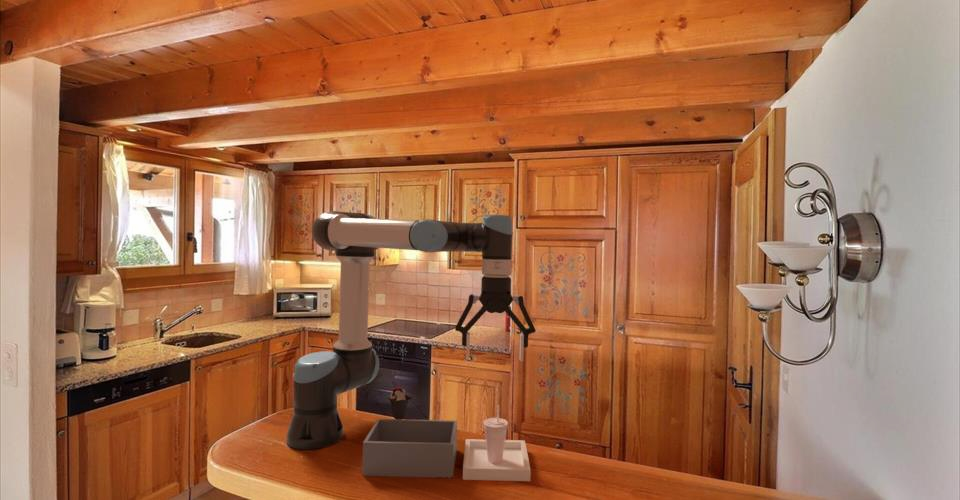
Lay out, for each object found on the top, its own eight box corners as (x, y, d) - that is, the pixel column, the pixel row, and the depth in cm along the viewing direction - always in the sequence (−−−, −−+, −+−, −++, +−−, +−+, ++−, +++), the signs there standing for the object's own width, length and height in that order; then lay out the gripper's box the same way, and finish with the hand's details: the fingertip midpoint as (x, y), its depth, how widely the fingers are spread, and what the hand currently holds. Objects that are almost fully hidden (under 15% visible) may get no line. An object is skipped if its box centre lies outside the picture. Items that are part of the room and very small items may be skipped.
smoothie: (505, 467, 111) (506, 411, 111) (480, 464, 113) (481, 408, 112) (509, 455, 118) (510, 402, 117) (485, 452, 119) (486, 399, 119)
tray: (462, 479, 107) (462, 468, 107) (465, 448, 123) (465, 439, 123) (530, 481, 107) (530, 469, 107) (524, 450, 123) (524, 440, 123)
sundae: (382, 431, 134) (383, 381, 133) (401, 425, 139) (401, 376, 138) (396, 438, 129) (397, 386, 129) (414, 431, 134) (415, 381, 134)
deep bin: (362, 475, 108) (363, 442, 108) (377, 448, 123) (377, 418, 123) (452, 477, 108) (453, 444, 108) (456, 449, 123) (457, 420, 122)
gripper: (446, 276, 111) (444, 362, 111) (547, 278, 111) (545, 364, 111) (448, 273, 118) (446, 354, 119) (543, 276, 118) (541, 356, 119)
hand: (494, 359), depth 115 cm, fingers open, 13 cm apart
